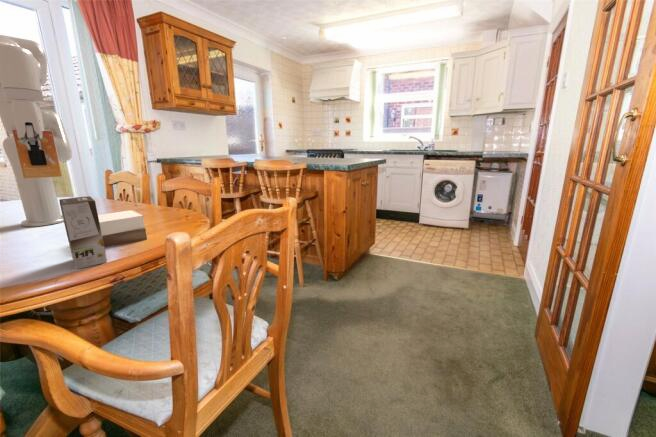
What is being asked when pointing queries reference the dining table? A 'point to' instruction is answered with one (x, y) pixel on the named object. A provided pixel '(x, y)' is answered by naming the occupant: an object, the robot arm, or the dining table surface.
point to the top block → (120, 222)
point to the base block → (124, 237)
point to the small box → (50, 153)
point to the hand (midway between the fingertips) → (40, 163)
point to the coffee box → (83, 231)
